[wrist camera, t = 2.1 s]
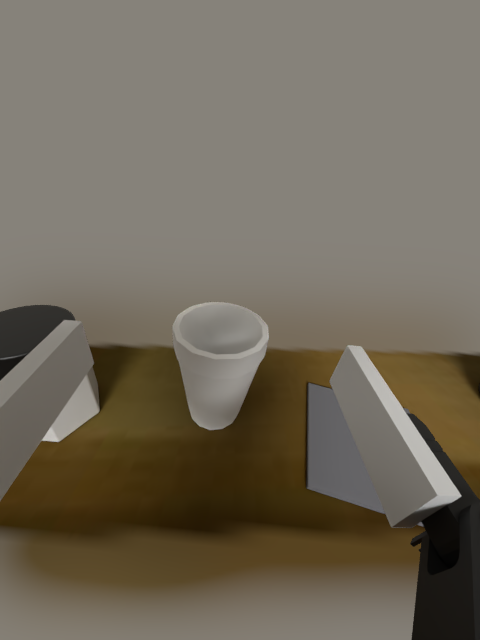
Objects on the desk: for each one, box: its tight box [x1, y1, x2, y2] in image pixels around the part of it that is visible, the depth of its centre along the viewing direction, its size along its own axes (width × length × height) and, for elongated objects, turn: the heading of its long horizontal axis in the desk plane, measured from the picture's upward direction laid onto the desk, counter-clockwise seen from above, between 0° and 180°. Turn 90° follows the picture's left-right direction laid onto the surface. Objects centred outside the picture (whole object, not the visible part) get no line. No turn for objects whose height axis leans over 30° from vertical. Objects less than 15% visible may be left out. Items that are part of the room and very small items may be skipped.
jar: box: [0, 305, 100, 442], centre depth 25 cm, size 9×8×12 cm
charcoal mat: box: [307, 383, 424, 527], centre depth 29 cm, size 14×14×1 cm
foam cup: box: [172, 302, 269, 430], centre depth 27 cm, size 10×9×13 cm
